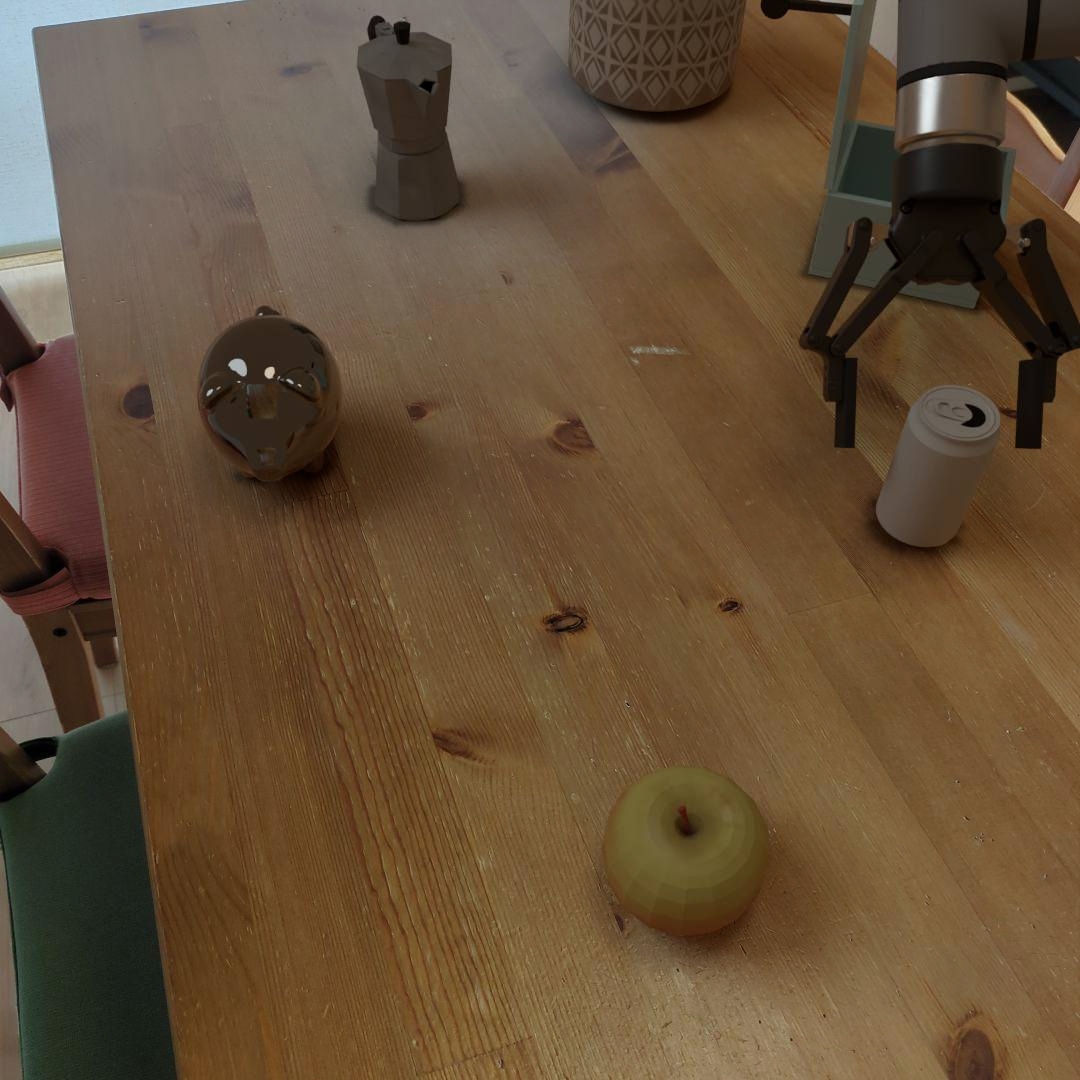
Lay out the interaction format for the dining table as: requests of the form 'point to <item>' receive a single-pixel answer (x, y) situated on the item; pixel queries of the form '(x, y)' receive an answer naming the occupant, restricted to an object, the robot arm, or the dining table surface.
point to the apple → (685, 850)
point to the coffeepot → (409, 119)
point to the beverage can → (938, 465)
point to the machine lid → (859, 33)
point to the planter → (655, 50)
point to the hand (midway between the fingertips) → (936, 449)
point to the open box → (880, 212)
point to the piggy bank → (270, 395)
